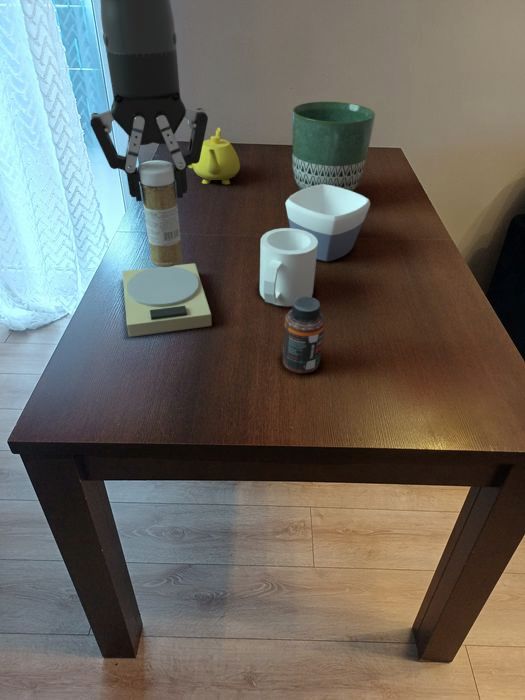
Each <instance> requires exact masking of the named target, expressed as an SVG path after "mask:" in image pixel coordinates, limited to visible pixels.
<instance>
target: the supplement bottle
mask: <svg viewBox="0 0 525 700" xmlns="http://www.w3.org/2000/svg"><path fill="white" fill-rule="evenodd" d="M325 324H326V320H325V315H324V314H323V313H322V312H321V302H320V301H319V300H318V299H316V298H314V297H313V296H312V297H299V298H296V299H295V300H294V301H293V306H291V309H290V310H289V311H288V312H287V313H286V315H285V318H284V327H283V329H284V330H283V343H282V344H283V345H282V364H283V366H284V367H285V368H286V370H289V371H290V372H293V373H296V374H309V373H312V372H314V371H316V370H317V369H318V367H319V366H320V363H321V359H322V358H321V356H322V349H323V339H324V332H325Z"/></svg>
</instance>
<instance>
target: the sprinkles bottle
mask: <svg viewBox="0 0 525 700" xmlns="http://www.w3.org/2000/svg"><path fill="white" fill-rule="evenodd" d="M173 165H174V164H173V163H172V162H170V161H167V160H159V159H158V160H157V159H156V160H155V159H154V160H148V161H145V162H141V163H140V164H139V165H138V166H137V169H138V176H139V184H140V189H141V196H142V201H143V211H144V218H145V219H144V220H145V227H146V232H147V240H148V244H149V251H150V262H151V263H152V264H153V265H154V266H156V267H171V266H175V265H179V264H180V263H182V261H183V258H184V257H183V256H184V255H183V253H182V245H181V232H180V231H181V230H180V220H179V219H180V218H179V209H178V208H179V207H178V202H177V195H176V188H175V170H174V166H173Z"/></svg>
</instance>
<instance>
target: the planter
mask: <svg viewBox="0 0 525 700" xmlns="http://www.w3.org/2000/svg"><path fill="white" fill-rule="evenodd" d="M375 118H376V113H375V111H374V110H372V109H371V108H368V107H366V106H363V105H359V104H355V103H349V102H341V101H311V102H305V103H300V104H297V105H295V106H294V107H293V108H292V118H291V119H292V120H291V122H292V128H291V129H292V131H291V132H292V133H291V135H292V136H291V137H292V138H291V141H292V142H291V145H292V146H291V149H292V150H291V153H292V154H291V157H292V158H291V160H292V161H291V163H292V164H291V165H292V174H293V177H294V182H295V184H296V186H297V187H298V189H299V191H300V190H302V189H305V188H308V187H312V186H315V185H321V184H325V185H331V186H336V187H340V188H343V189H346V190H350V191H352V192H354V191H355V190H356V189H357V187H358V186H359V184H360V182H361V180H362V178H363V175H364V171H365V167H366V163H367V158H368V153H369V148H370V144H371V138H372V134H373V130H374V124H375V120H376V119H375Z"/></svg>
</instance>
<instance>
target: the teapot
mask: <svg viewBox="0 0 525 700" xmlns="http://www.w3.org/2000/svg"><path fill="white" fill-rule="evenodd" d="M221 132H222V131H221V127H219V126H218V127H216V129H215V135H211V136H210V138H209V139H204V141H203V146H202V151H201V156H200V160H199V162H198V163H196V164H194V163H193V164H190V165H189V166H187V168H189V169H193V171H194V173H195V175H197V176H198V177H199V176H200V177H202V178H205V179H209V180H205V179H202V178H201V179H202V181H201V184H204V185H208V184H210V183H211V180H222V181H221V184H222V185H230V184H231V181H230V180H231V179H233V178H235V177H236V175H237V174H238V173H239V172H240V170H241V164H240V159H239V156H238V153H237V152H236V150H235V148H234V147H233V145H232V144H231V143H230V141H229V140H226V139H224V138H223V139H222V133H221ZM188 148H189V146H188ZM188 148H187V149H188ZM200 177H199V178H200ZM232 177H233V178H232ZM230 178H231V179H230ZM226 179H228V180H226Z"/></svg>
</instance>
